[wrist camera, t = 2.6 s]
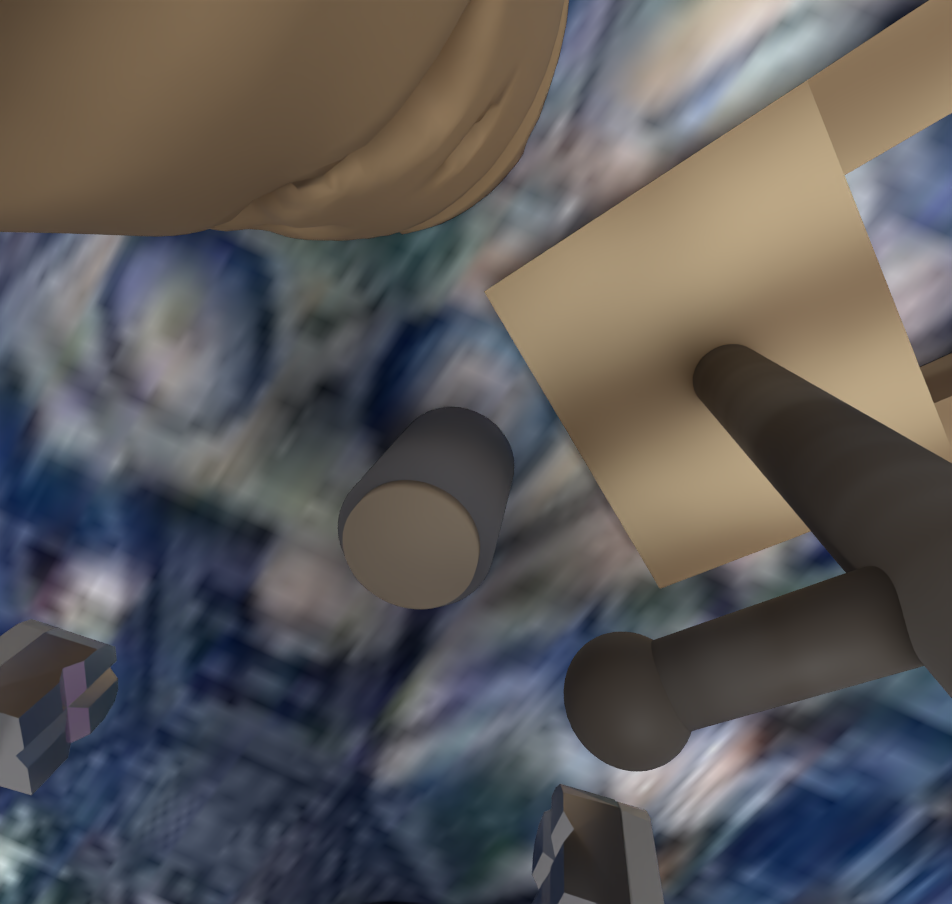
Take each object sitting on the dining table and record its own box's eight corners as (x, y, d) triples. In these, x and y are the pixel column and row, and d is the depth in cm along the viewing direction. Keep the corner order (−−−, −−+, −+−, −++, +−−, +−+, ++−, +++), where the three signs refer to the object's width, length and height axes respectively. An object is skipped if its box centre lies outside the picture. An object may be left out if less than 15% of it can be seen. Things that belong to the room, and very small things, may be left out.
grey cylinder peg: (536, 486, 21) (522, 585, 15) (439, 533, 22) (390, 640, 16) (472, 384, 20) (429, 445, 14) (375, 442, 21) (298, 519, 15)
